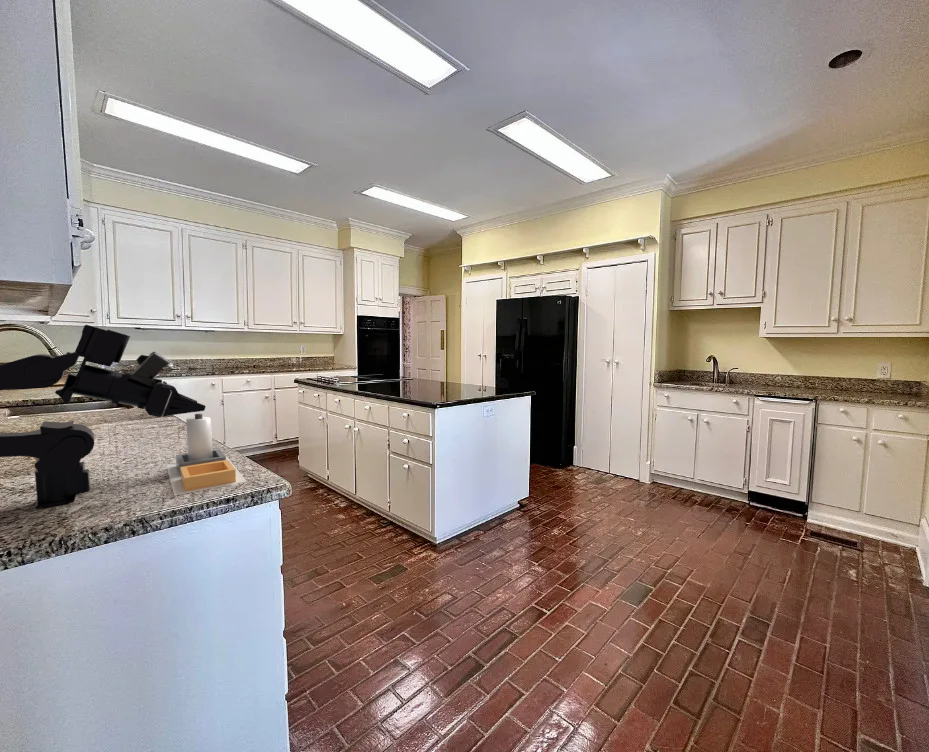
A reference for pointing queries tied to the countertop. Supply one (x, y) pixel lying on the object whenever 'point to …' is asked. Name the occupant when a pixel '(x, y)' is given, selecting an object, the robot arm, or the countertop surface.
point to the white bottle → (199, 438)
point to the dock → (202, 473)
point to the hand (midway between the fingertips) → (200, 405)
